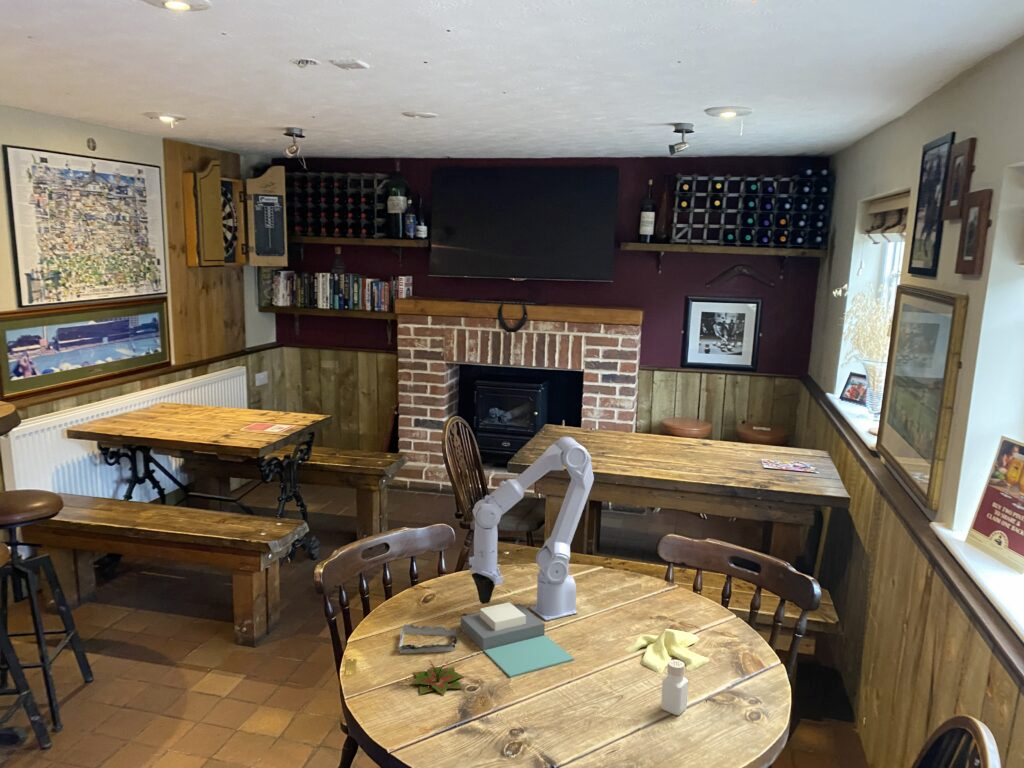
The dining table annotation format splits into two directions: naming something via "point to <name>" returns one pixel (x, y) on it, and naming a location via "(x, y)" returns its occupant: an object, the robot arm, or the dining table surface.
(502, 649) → the drip mat
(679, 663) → the pepper shaker
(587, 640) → the dining table surface
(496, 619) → the coaster
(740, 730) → the dining table surface
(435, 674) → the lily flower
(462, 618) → the riser
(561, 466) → the robot arm
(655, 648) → the cloth
